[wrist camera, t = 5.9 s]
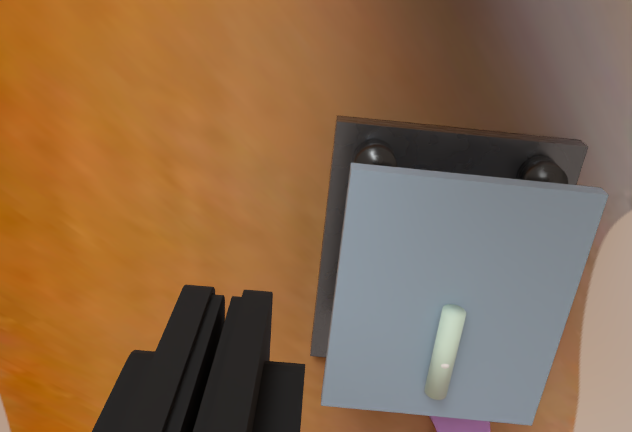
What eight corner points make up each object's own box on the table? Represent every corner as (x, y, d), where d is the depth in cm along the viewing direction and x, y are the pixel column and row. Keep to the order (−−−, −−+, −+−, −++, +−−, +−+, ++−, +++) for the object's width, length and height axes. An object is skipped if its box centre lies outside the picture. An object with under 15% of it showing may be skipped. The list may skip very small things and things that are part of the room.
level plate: (350, 162, 37) (351, 179, 34) (600, 187, 37) (620, 205, 35) (321, 394, 45) (320, 421, 42) (526, 413, 45) (538, 442, 43)
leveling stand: (336, 115, 43) (336, 144, 37) (580, 140, 43) (618, 172, 37) (311, 344, 52) (307, 396, 46) (511, 364, 52) (534, 418, 46)
